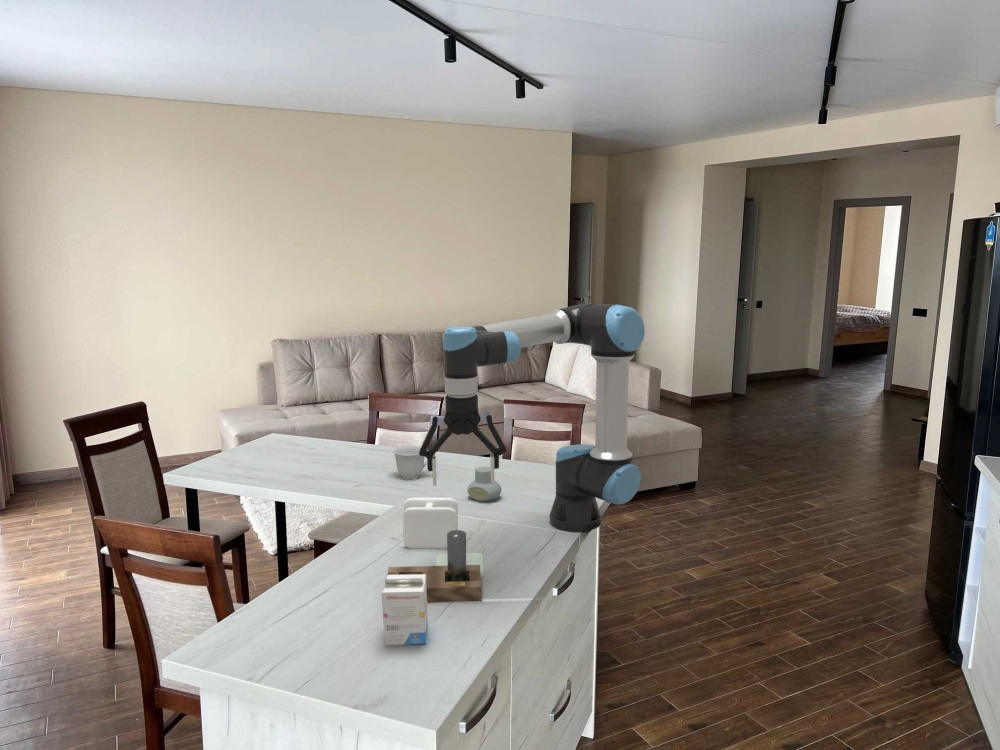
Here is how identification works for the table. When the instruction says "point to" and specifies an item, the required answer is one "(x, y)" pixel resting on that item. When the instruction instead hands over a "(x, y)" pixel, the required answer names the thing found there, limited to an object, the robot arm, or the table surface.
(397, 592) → the ink box
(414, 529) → the cable organizer
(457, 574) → the plug
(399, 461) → the teacup
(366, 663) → the table surface
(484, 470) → the air freshener
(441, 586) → the socket block
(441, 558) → the mat
